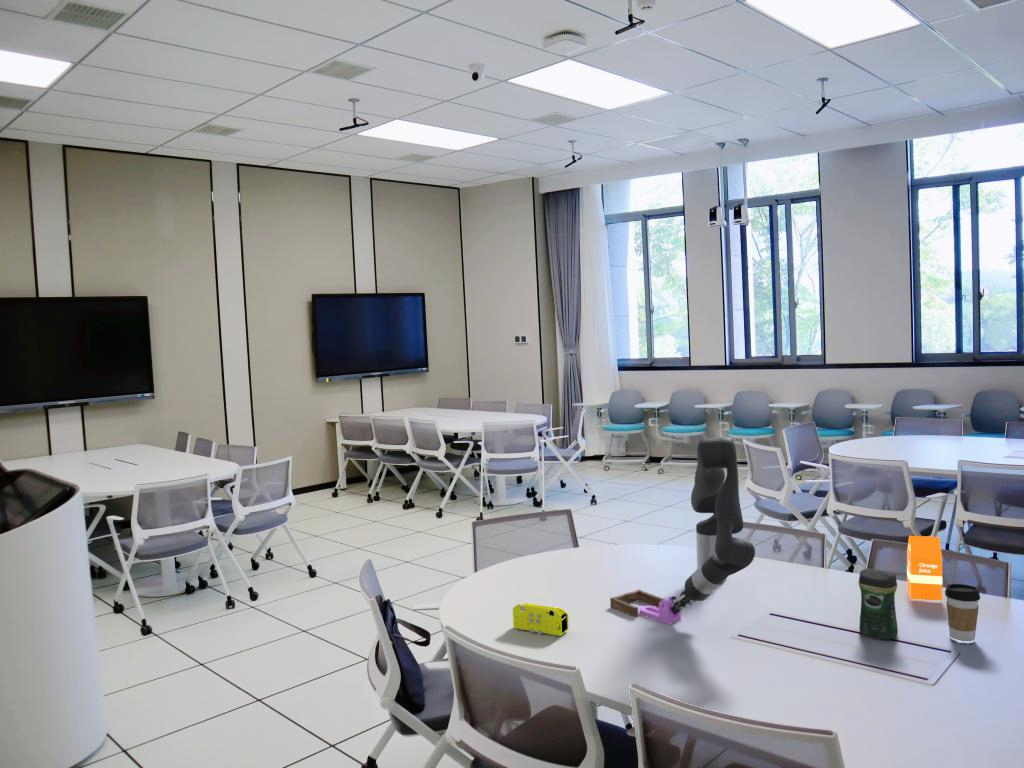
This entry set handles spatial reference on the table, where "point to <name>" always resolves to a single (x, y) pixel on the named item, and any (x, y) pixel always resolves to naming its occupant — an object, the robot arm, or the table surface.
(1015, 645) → the table surface
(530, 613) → the yellow toy chassis
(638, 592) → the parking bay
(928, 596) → the orange juice
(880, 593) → the coffee jar
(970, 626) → the coffee cup
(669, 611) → the bracket
